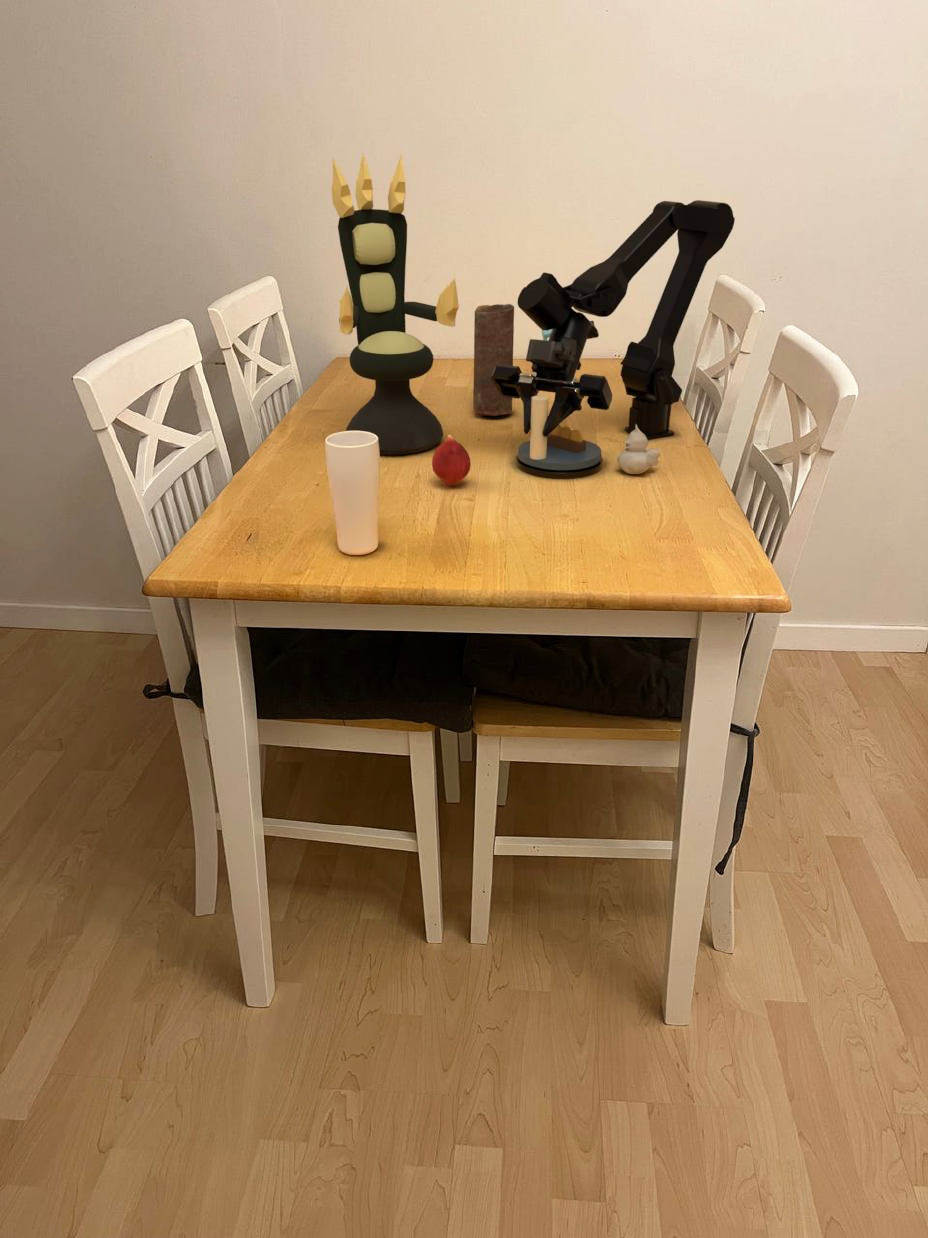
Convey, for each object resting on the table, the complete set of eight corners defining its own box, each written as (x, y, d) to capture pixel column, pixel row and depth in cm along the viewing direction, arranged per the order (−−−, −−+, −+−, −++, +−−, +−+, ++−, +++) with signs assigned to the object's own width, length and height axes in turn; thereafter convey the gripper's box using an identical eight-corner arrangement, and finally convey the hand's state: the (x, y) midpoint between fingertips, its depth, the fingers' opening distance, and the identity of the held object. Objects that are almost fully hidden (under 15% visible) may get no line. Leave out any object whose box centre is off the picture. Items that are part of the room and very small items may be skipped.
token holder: (553, 438, 164) (556, 375, 159) (617, 456, 156) (622, 390, 151) (500, 456, 156) (501, 391, 150) (565, 476, 147) (569, 407, 142)
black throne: (353, 465, 156) (335, 157, 135) (320, 427, 174) (299, 151, 153) (462, 451, 162) (460, 155, 141) (418, 416, 180) (411, 149, 159)
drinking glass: (333, 539, 129) (325, 430, 122) (383, 537, 130) (378, 429, 123) (331, 560, 123) (323, 447, 116) (384, 558, 124) (379, 445, 117)
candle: (508, 422, 177) (510, 309, 167) (469, 420, 178) (469, 308, 169) (515, 410, 183) (517, 302, 174) (477, 408, 185) (477, 300, 175)
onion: (475, 481, 149) (475, 431, 145) (463, 494, 144) (463, 442, 140) (440, 477, 151) (439, 428, 147) (426, 490, 146) (425, 438, 142)
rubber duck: (614, 467, 155) (617, 418, 151) (654, 466, 155) (659, 418, 151) (619, 478, 150) (623, 428, 146) (661, 478, 150) (666, 428, 146)
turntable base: (573, 446, 164) (573, 440, 164) (619, 470, 153) (619, 464, 153) (500, 457, 159) (500, 451, 159) (542, 484, 148) (543, 478, 148)
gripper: (496, 311, 149) (464, 399, 145) (610, 321, 141) (579, 414, 138) (516, 352, 159) (486, 435, 155) (624, 364, 151) (595, 452, 148)
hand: (534, 434), depth 149 cm, fingers closed on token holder, 3 cm apart
